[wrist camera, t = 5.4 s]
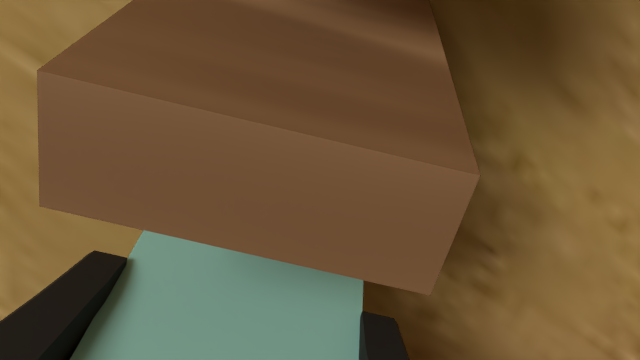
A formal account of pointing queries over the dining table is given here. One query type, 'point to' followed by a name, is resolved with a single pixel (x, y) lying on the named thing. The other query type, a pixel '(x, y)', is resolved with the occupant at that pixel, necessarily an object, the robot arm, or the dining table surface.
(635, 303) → the dining table surface
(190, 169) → the walnut domino
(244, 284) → the teal domino
